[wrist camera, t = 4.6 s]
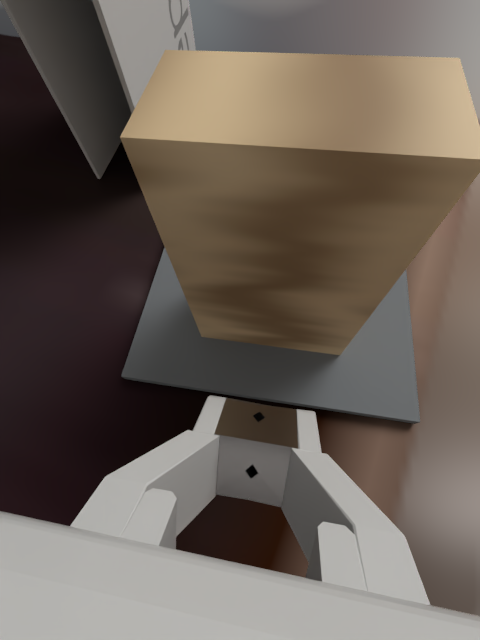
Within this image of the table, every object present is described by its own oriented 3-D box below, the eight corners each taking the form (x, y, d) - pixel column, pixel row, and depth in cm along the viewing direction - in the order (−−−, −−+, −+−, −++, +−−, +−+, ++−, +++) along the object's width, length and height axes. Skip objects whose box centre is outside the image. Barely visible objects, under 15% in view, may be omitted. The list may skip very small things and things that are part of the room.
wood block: (201, 336, 18) (120, 137, 7) (214, 280, 20) (165, 50, 9) (340, 355, 17) (489, 159, 6) (341, 294, 19) (459, 57, 8)
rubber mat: (125, 379, 18) (121, 376, 17) (204, 138, 27) (203, 132, 26) (414, 423, 16) (420, 422, 15) (391, 149, 25) (394, 142, 25)
